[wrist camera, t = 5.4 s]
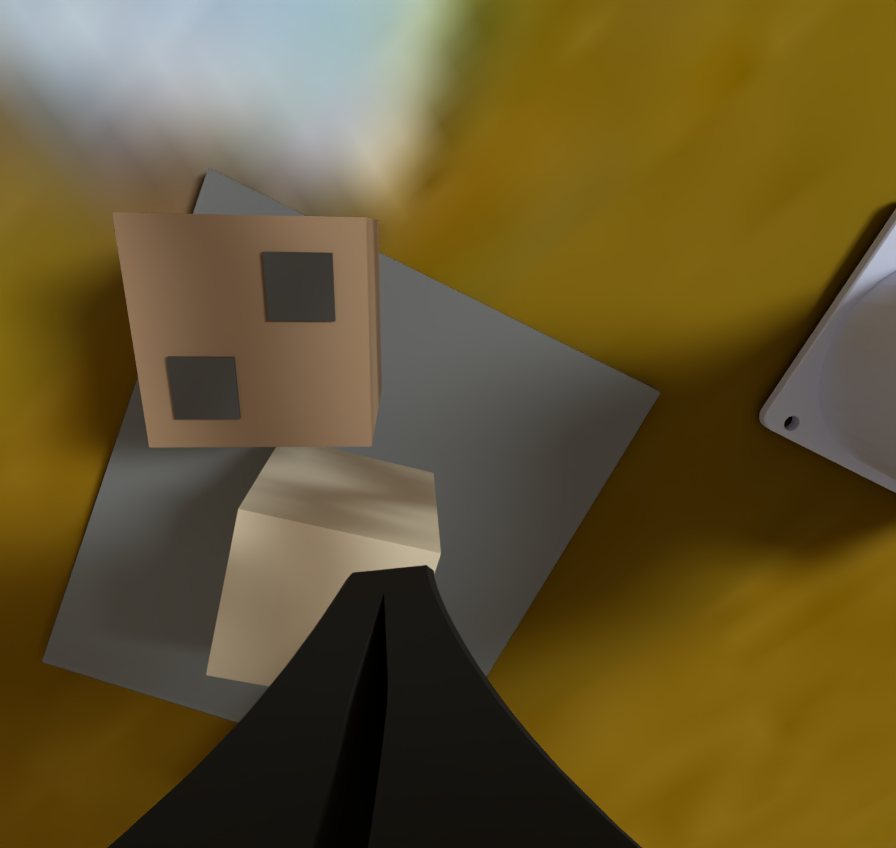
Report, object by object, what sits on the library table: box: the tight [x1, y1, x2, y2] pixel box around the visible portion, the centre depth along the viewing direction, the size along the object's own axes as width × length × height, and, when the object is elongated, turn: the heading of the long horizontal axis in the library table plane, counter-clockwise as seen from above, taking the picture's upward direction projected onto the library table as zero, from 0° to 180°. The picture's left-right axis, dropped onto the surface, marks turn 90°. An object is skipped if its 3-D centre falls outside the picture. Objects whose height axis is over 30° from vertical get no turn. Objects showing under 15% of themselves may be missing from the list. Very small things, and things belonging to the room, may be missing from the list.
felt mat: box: [42, 169, 661, 723], centre depth 20 cm, size 15×18×1 cm
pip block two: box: [112, 212, 382, 447], centre depth 15 cm, size 5×5×5 cm
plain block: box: [206, 447, 441, 686], centre depth 17 cm, size 5×5×5 cm
